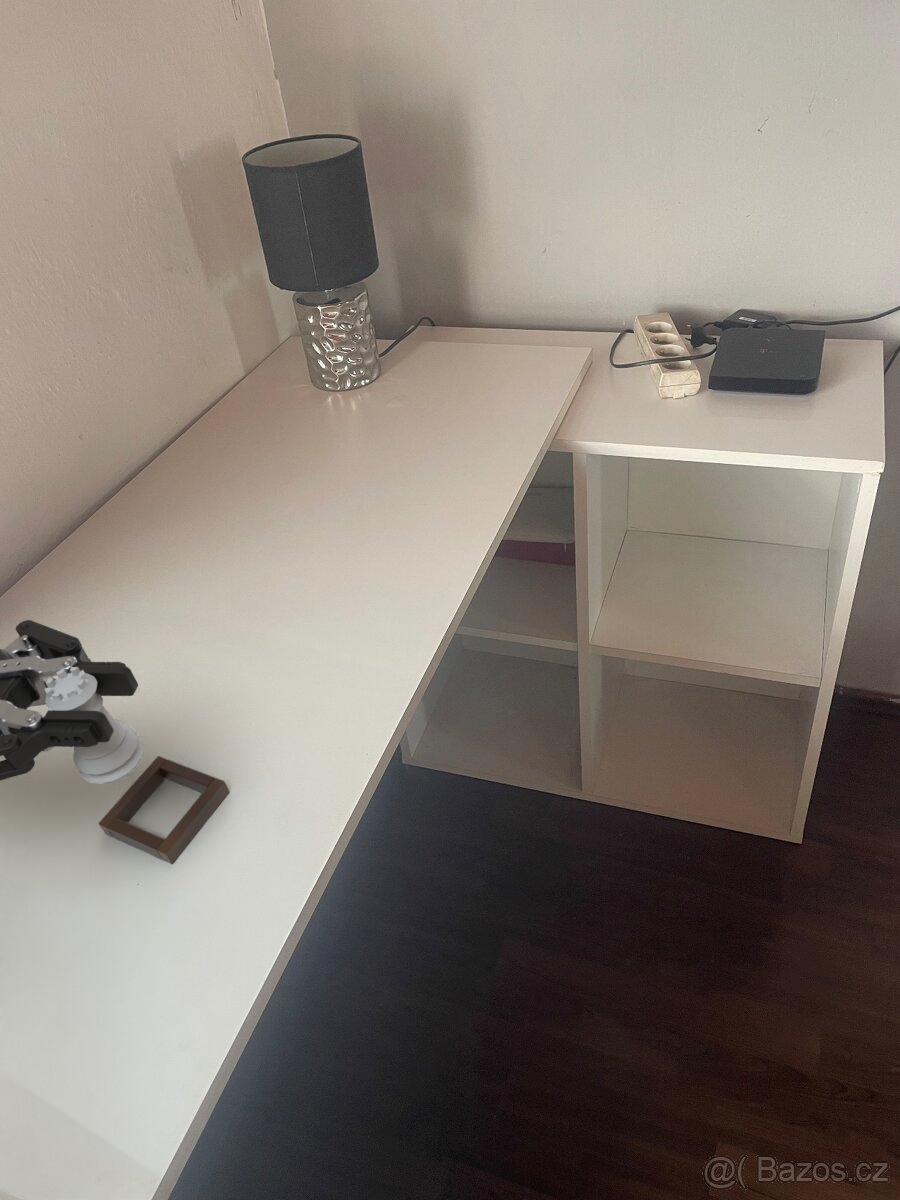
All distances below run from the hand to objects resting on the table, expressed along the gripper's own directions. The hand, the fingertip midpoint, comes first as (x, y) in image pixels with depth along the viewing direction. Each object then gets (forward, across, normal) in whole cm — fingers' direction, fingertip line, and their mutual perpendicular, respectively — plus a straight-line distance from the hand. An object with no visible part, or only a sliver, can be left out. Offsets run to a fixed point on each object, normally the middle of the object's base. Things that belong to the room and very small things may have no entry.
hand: (118, 702), depth 55 cm
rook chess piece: (-3, 0, +6) cm, 7 cm away
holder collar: (-5, +4, +18) cm, 18 cm away
